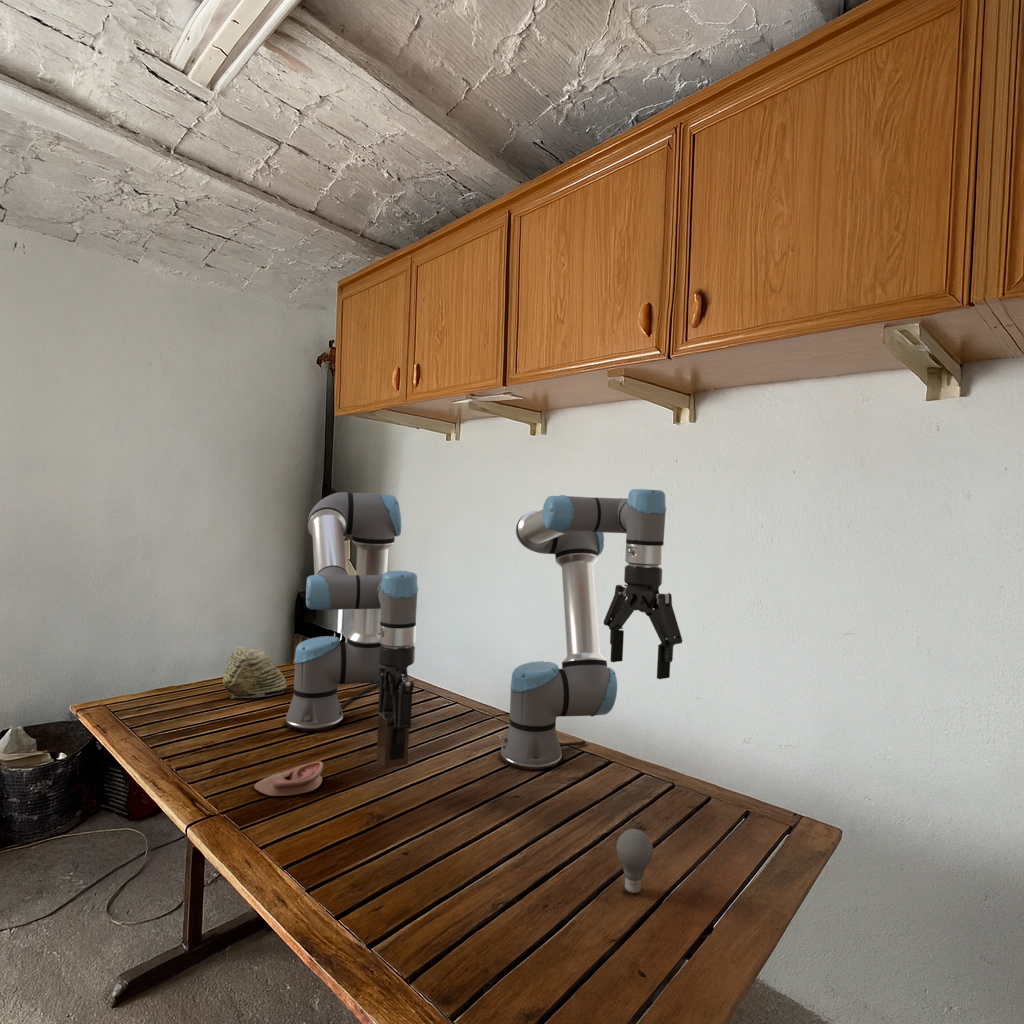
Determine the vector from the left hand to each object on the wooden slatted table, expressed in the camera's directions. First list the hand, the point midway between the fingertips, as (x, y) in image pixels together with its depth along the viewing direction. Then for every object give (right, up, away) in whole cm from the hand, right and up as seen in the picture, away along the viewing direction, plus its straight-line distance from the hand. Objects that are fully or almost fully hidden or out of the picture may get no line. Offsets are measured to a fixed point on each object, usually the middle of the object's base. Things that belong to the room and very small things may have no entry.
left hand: (392, 753), depth 135 cm
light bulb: (+46, -12, -29) cm, 55 cm away
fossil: (-55, -6, +63) cm, 84 cm away
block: (0, -2, 0) cm, 2 cm away
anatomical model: (-23, -8, +4) cm, 25 cm away
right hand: (+51, +19, -6) cm, 55 cm away
